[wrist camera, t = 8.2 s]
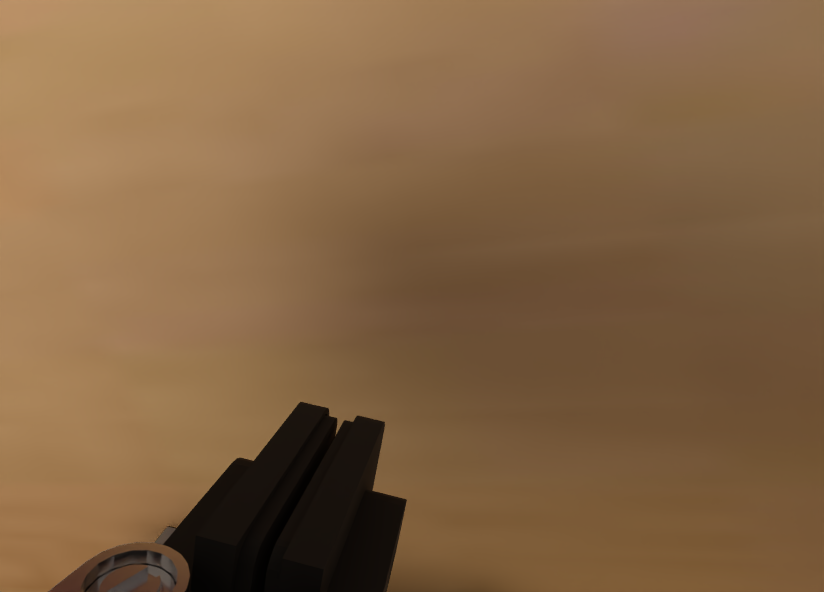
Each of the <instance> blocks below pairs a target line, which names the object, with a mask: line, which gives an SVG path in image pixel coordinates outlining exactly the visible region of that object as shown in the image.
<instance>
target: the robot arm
mask: <svg viewBox="0 0 824 592" xmlns="http://www.w3.org/2000/svg"><path fill="white" fill-rule="evenodd" d="M384 427H385V422H383V421H379V420H374V419H370V418H366V417H362V416H357V417H356V418H355V420H354V422H351V421H346V420H345V421H344V422H343V424H342V426H341V427H340V429H339V431H338V433H337V434H336V428H337V418H334V417H330V416H329V409H328V408H325V407H320V406H316V405H312V404H308V403H304V402H300V403H299V404H298V405H297V407H296V408H295V409H294V410H293V412H292V413H291V414H290V415H289V417H288V418H287V419H286V421H285V422H284V423H283V424H282V426H281V427H280V428H279V430H278V431H277V432H276V433H275V435H274V436H273V437H272V438H271V440H270V441H269V442H268V444H267V445H266V446H265V447H264V449H263V450H262V451H261V452H260V454H259V455H258V456H257V458H256V459H255V460H254V461H252V460H248V459H244V458H237V459H236V460H235V461H234V462H233V463H232V464H231V465H230V466H229V467H228V468H227V469H226V471H225V472H224V473H223V474H222V475H221V477H220V478H219V479H218V480H217V481H216V482H215V484H214V485H213V486H212V487H211V488H210V489H209V491H208V492H207V493H206V494H205V495H204V497H203V498H202V499H201V500H200V501H199V502H198V504H197V505H196V506H195V507H194V508H193V509H192V511H191V512H190V513H189V514H188V515H187V517H186V518H185V519H184V520H183V521H182V522H181V524H180V525H179V526H178V527H177V528H176V529H175V531H174V532H173V533H172V534H171V535H170V537H169V538H168V539H167V540H166V541H165V542H164V544H163V545H161V544H157V543H147V542H136V543H130V544H124V545H119V546H116V547H114V548H111V549H108V550H106V551H103V552H101V553H99V554H98V555H96V556H94V557H93V558H91V559H90V560H88V561H86V562H85V563H84V564H83V565H81V566H80V567H79V568H77V569H76V570H75V571H74V572H72V573H71V574H70V575H69V576H67V577H66V578H65V579H63V580H62V581H61V582H60V583H58V584H57V585H56V586H55V587H53V588H52V589H51V590H49V591H48V592H386V591H387V587H388V583H389V579H390V575H391V570H392V566H393V562H394V557H395V553H396V548H397V544H398V539H399V535H400V530H401V525H402V520H403V516H404V511H405V506H406V501H407V500H406V499H402V498H399V497H395V496H391V495H387V494H383V493H379V492H375V491H372V490H373V485H374V479H375V474H376V469H377V464H378V459H379V454H380V448H381V443H382V438H383V433H384ZM335 434H336V436H335Z"/></svg>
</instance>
